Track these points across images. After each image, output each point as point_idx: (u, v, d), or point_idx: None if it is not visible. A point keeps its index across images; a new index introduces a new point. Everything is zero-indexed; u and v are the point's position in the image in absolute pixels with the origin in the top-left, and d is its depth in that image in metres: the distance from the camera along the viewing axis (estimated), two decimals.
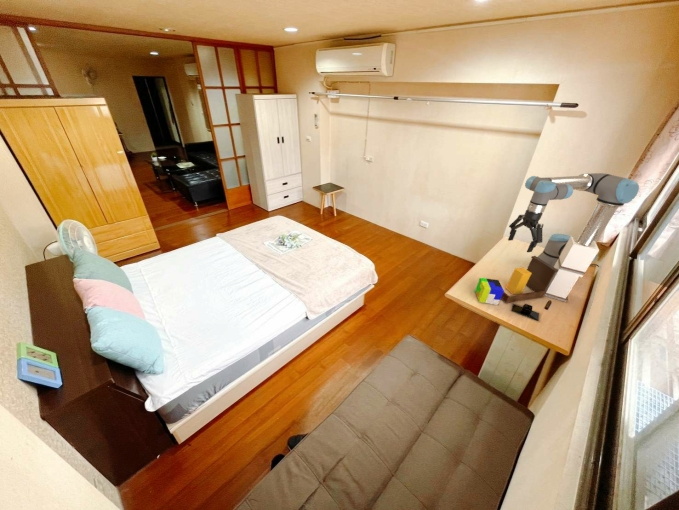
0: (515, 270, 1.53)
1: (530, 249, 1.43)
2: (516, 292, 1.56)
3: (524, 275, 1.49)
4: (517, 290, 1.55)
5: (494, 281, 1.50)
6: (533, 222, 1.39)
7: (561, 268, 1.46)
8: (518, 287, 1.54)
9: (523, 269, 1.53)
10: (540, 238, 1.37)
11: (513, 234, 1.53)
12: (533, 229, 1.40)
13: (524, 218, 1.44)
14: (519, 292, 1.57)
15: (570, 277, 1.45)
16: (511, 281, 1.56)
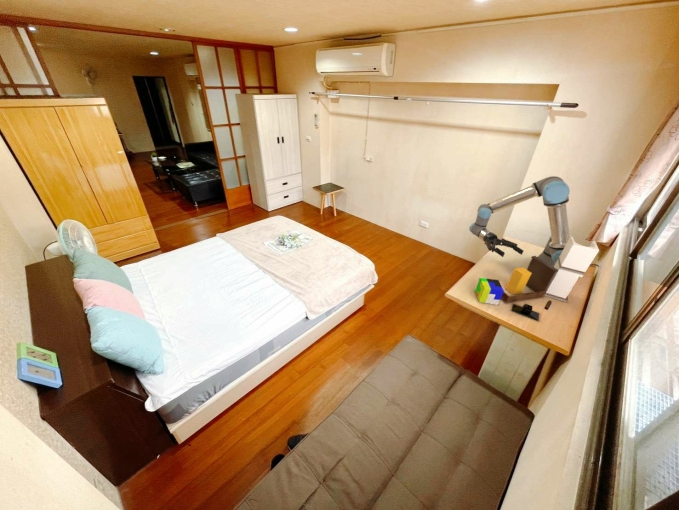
0: (515, 270, 1.53)
1: (500, 253, 1.57)
2: (516, 292, 1.56)
3: (524, 275, 1.49)
4: (517, 290, 1.55)
5: (494, 281, 1.50)
6: None
7: (561, 268, 1.46)
8: (518, 287, 1.54)
9: (523, 269, 1.53)
10: (488, 247, 1.63)
11: (516, 249, 1.62)
12: (492, 245, 1.67)
13: None
14: (519, 292, 1.57)
15: (570, 277, 1.45)
16: (511, 281, 1.56)
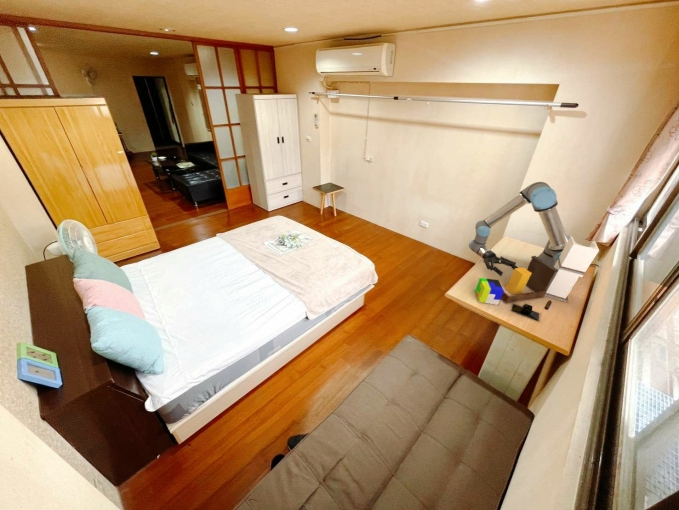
0: (515, 270, 1.53)
1: (498, 273, 1.60)
2: (516, 292, 1.56)
3: (524, 275, 1.49)
4: (517, 290, 1.55)
5: (494, 281, 1.50)
6: None
7: (561, 268, 1.46)
8: (518, 287, 1.54)
9: (523, 269, 1.53)
10: (487, 265, 1.66)
11: (515, 267, 1.64)
12: (490, 263, 1.69)
13: None
14: (519, 292, 1.57)
15: (570, 277, 1.45)
16: (511, 281, 1.56)
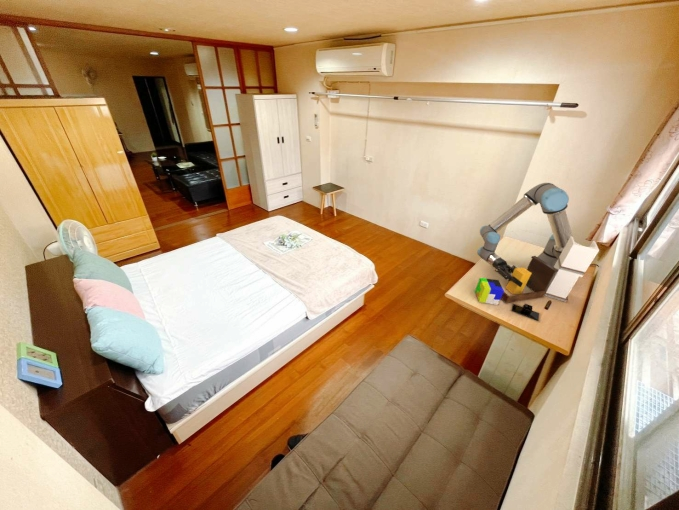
0: (515, 270, 1.53)
1: (518, 283, 1.51)
2: (516, 292, 1.56)
3: (524, 275, 1.49)
4: (517, 290, 1.55)
5: (494, 281, 1.50)
6: None
7: (561, 268, 1.46)
8: (518, 287, 1.54)
9: (523, 269, 1.53)
10: (504, 275, 1.57)
11: None
12: None
13: None
14: (519, 292, 1.57)
15: (570, 277, 1.45)
16: (511, 281, 1.56)
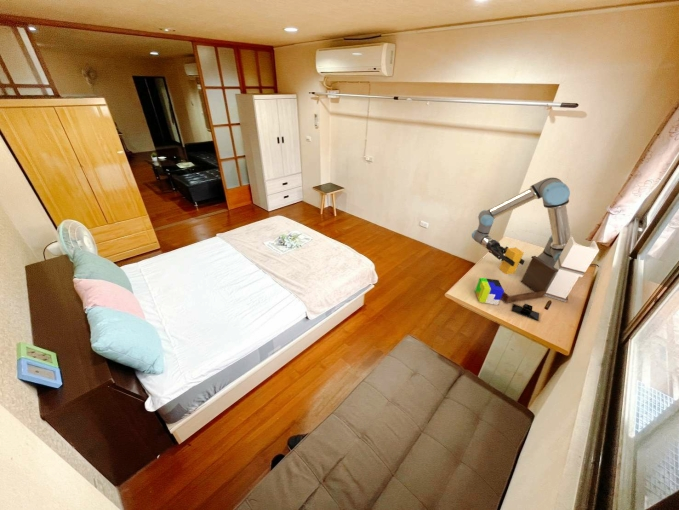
0: (508, 250, 1.57)
1: (510, 263, 1.55)
2: (509, 272, 1.60)
3: (517, 254, 1.53)
4: (510, 270, 1.59)
5: (494, 281, 1.50)
6: None
7: (561, 268, 1.46)
8: (511, 267, 1.57)
9: (515, 249, 1.56)
10: (497, 256, 1.61)
11: None
12: None
13: None
14: (512, 272, 1.60)
15: (570, 277, 1.45)
16: (504, 261, 1.60)
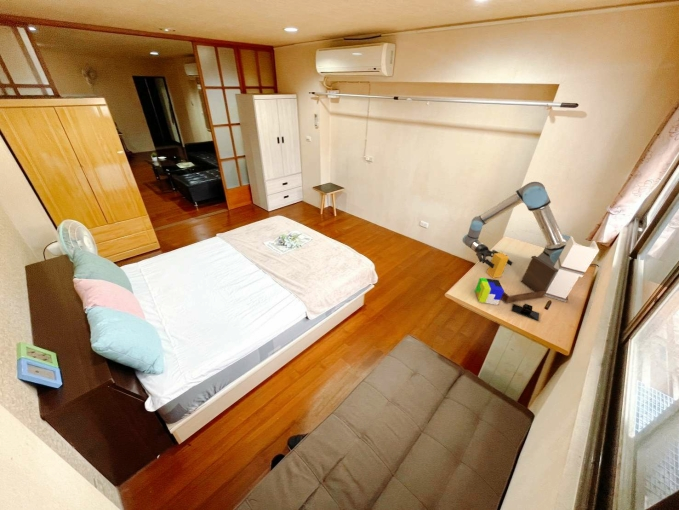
0: (494, 255, 1.67)
1: (490, 265, 1.66)
2: (495, 275, 1.70)
3: (502, 259, 1.63)
4: (497, 273, 1.69)
5: (494, 281, 1.50)
6: None
7: (561, 268, 1.46)
8: (497, 270, 1.68)
9: (501, 254, 1.67)
10: (479, 258, 1.72)
11: None
12: (483, 256, 1.75)
13: None
14: (498, 275, 1.71)
15: (570, 277, 1.45)
16: None
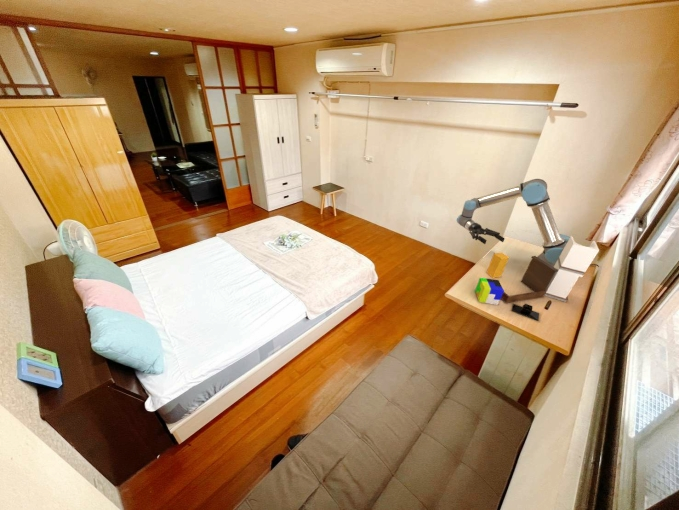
0: (494, 255, 1.67)
1: (483, 241, 1.70)
2: (495, 275, 1.70)
3: (502, 259, 1.63)
4: (497, 273, 1.69)
5: (494, 281, 1.50)
6: None
7: (561, 268, 1.46)
8: (497, 270, 1.68)
9: (501, 254, 1.67)
10: (472, 235, 1.76)
11: (498, 237, 1.74)
12: (476, 234, 1.79)
13: None
14: (498, 275, 1.71)
15: (570, 277, 1.45)
16: (491, 265, 1.71)
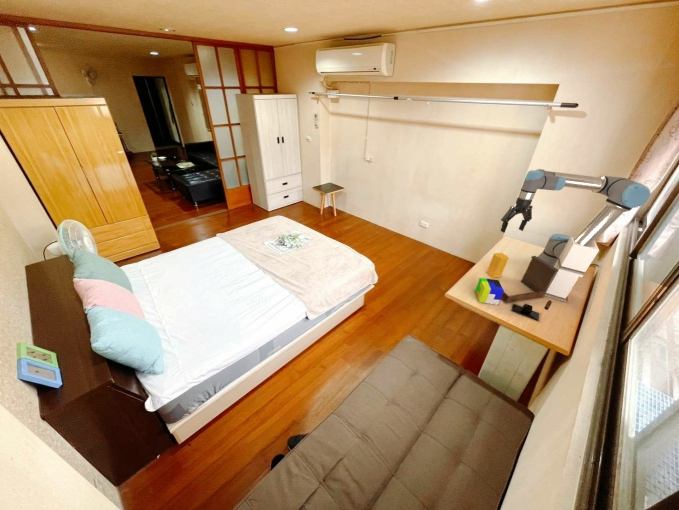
0: (494, 255, 1.67)
1: (502, 228, 1.62)
2: (495, 275, 1.70)
3: (502, 259, 1.63)
4: (497, 273, 1.69)
5: (494, 281, 1.50)
6: None
7: (561, 268, 1.46)
8: (497, 270, 1.68)
9: (501, 254, 1.67)
10: (504, 217, 1.58)
11: (522, 224, 1.64)
12: None
13: None
14: (498, 275, 1.71)
15: (570, 277, 1.45)
16: (491, 265, 1.71)
